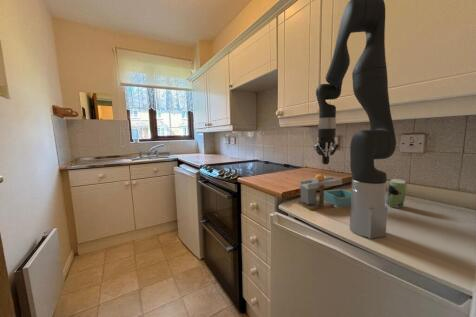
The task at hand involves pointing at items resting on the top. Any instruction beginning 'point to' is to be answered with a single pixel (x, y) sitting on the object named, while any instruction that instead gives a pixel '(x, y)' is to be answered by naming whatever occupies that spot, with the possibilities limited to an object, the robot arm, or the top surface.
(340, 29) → the robot arm
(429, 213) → the top surface
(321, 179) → the ball
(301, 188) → the chute
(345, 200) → the teal square tray
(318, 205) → the stand
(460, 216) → the top surface
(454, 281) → the top surface
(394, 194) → the beverage can
